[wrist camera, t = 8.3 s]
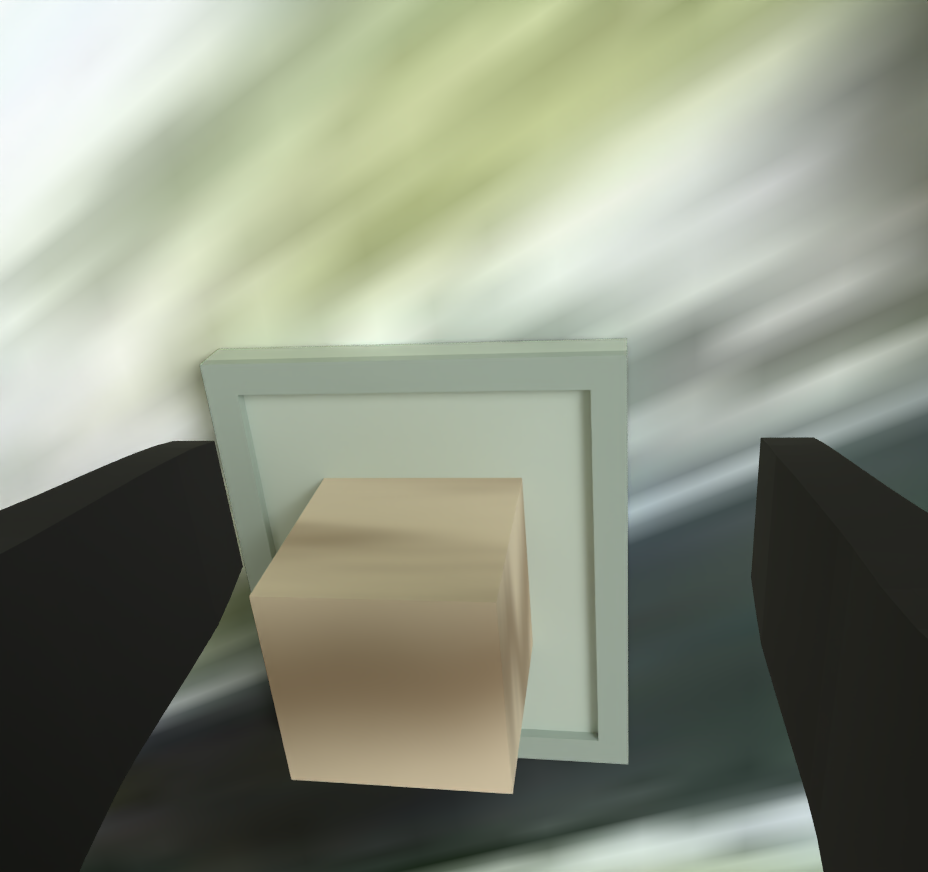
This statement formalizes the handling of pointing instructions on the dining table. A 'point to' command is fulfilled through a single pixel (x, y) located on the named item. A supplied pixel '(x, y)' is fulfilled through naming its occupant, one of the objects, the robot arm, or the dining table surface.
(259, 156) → the dining table surface
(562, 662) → the grey green picture frame
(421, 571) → the maple cube
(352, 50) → the dining table surface
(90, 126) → the dining table surface
